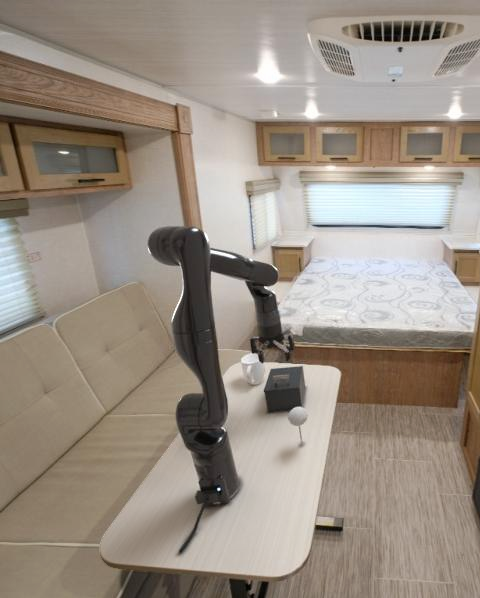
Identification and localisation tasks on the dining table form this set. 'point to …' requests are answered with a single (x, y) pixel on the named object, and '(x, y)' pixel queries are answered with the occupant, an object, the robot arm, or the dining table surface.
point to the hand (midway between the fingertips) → (275, 361)
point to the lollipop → (298, 418)
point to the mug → (253, 368)
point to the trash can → (286, 398)
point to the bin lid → (284, 379)
